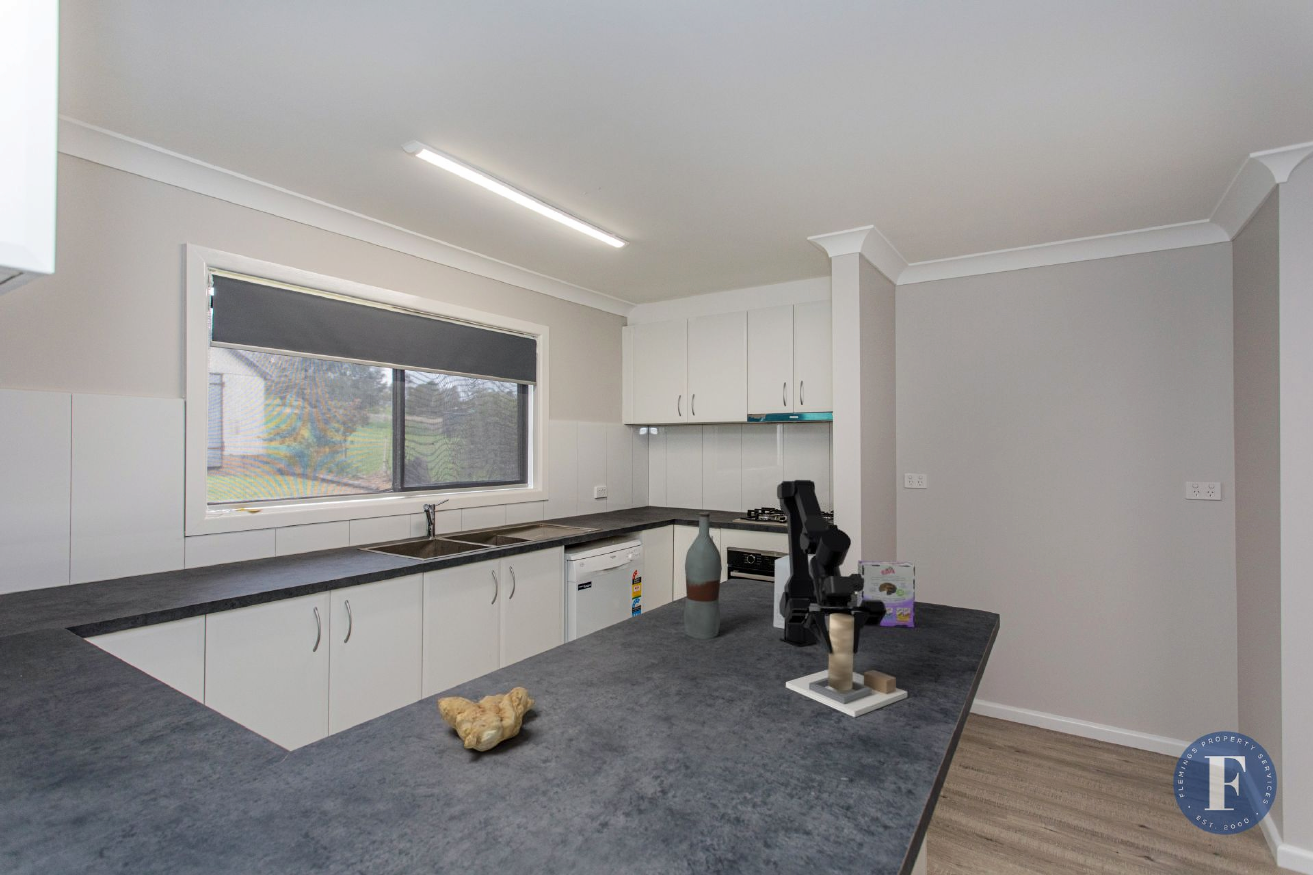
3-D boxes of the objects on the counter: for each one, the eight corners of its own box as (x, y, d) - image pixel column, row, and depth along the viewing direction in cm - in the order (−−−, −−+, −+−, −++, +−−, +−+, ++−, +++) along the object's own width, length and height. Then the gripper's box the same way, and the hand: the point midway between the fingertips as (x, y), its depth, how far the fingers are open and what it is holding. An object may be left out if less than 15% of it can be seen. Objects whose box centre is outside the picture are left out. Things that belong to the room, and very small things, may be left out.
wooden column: (824, 686, 119) (826, 617, 119) (832, 679, 123) (833, 612, 123) (848, 691, 117) (850, 621, 117) (855, 684, 120) (856, 615, 120)
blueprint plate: (785, 687, 124) (786, 669, 124) (838, 671, 133) (838, 654, 133) (854, 717, 111) (855, 697, 111) (907, 697, 120) (907, 678, 120)
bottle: (676, 630, 159) (679, 510, 159) (708, 626, 163) (711, 510, 163) (694, 641, 151) (697, 515, 151) (727, 637, 155) (730, 514, 155)
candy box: (908, 621, 172) (909, 561, 172) (914, 628, 166) (916, 565, 166) (855, 619, 174) (857, 559, 174) (860, 625, 168) (862, 563, 168)
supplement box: (838, 624, 168) (839, 558, 168) (822, 636, 157) (824, 566, 157) (790, 615, 175) (791, 552, 175) (772, 627, 164) (773, 559, 164)
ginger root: (430, 759, 91) (435, 699, 93) (436, 737, 105) (440, 685, 107) (541, 752, 95) (543, 694, 97) (532, 731, 110) (534, 681, 111)
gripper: (789, 556, 124) (801, 630, 113) (884, 558, 124) (906, 632, 113) (779, 587, 131) (790, 659, 120) (869, 589, 132) (888, 661, 121)
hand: (843, 652), depth 118 cm, fingers closed on wooden column, 4 cm apart
